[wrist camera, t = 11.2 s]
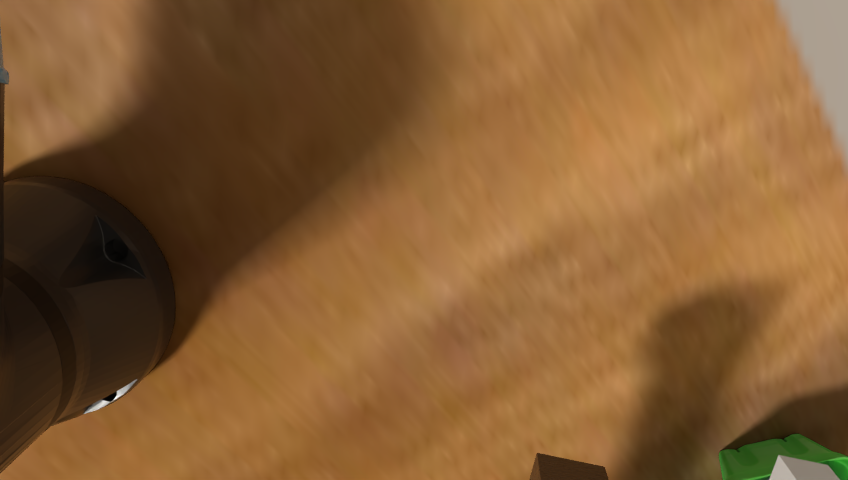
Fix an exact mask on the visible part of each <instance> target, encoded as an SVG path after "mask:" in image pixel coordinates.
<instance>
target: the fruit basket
mask: <svg viewBox="0 0 848 480" xmlns="http://www.w3.org/2000/svg"><path fill="white" fill-rule="evenodd" d="M778 455H782V456H786V457H791V458H796V459H801V460H806V461H811V462H815V463H820V464H825V465H828V466H829V467H830V468H831V469H832V471H833V472H834V473H835V474H836V476H837V477H838V478H839V479H840V480H848V456H845V455H843V454H841V453H836V452H833V451H831V450H829V449H827V448H825V447H823V446H821V445H820V444H818V443H816V442H814V441H812V440H810V439H808V438H806V437H804V436H802V435H800V434H792V435H790V436H788V437H786V438H784V440H782V439H770V440H766V441H761V442H757V443H753V444H748V445H744V446H742V447H740V448H738V449H737V450H734V449H732V450H731V449H726V450H722V451H720V453H719V460H720V466H721V472H722V478H723V480H769V479H770V476H771V474H772V471H773V468H774V466H775V463H776V460H777V458H778Z"/></svg>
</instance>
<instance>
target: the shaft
mask: <svg viewBox="0 0 848 480" xmlns="http://www.w3.org/2000/svg"><path fill="white" fill-rule="evenodd" d="M530 480H608V476H607V473H606V470H605V467H603V466H598V465H593V464H588V463H583V462H579V461H574V460H569V459H564V458H559V457H554V456H550V455H545V454H540V453H537V454H536V458H535V462H534V465H533V469H532V473H531V477H530Z"/></svg>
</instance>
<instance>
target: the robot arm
mask: <svg viewBox="0 0 848 480" xmlns="http://www.w3.org/2000/svg"><path fill="white" fill-rule="evenodd" d="M5 84H9V75H8V72H7V71H6V70H5V69H4V67H3V55H2V43H1V29H0V473H1V472H2V471H3V470H4V469H5V468H6V467H7V466H9V465H10V464H11V463H12V462H13V461H14V460H15V459H16V458H17V457H18V456H19V455H20V454H21V453H22V452H23V451H24V450H25V449H26V448H27V447H29V446H30V445H31V444H32V443H33V442H34V441H35V440H36V439H37V438H38V437H39V436H40V435H41V434H42V433H43V432H45V431H46V430H47V429H48V428H49V427H50V426H53V425H56V424H59V423H62V422H64V421H67V420H70V419H73V418H76V417H78V416H81V415H82V414H85V413H90V412H92V411H95V410H98V409H101V408H103V407H105V406H108V405H110V404H111V403H113V402H115V401H117V400H118V399H120V398H121V397H123V396H124V395H126V394H127V393H128V392H130V391H131V390H132V389H133V388H134V387H135V386H136V385H137V384H138V383H139V382H140V381H141V380H142V379H143V378H144V377H145V376H146V375H147V374H148V373H149V372H150V371H151V370H152V369H153V368H154V366H155V365H156V364H157V363H158V361H159V360H160V358H161V357H162V355H163V353H164V351H165V349H166V347H167V345H168V343H169V340H170V337H171V334H172V330H173V325H174V319H175V295H174V288H173V283H172V279H171V275H170V272H169V269H168V266H167V264H166V261H165V259H164V257H163V255H162V253H161V251H160V249H159V247H158V245H157V244H156V242H155V241H154V239H153V238H152V236H151V235H150V233H149V232H148V231H147V229H146V228H145V227H144V226H143V225H142V224H141V222H140V221H139V220H138V219H137V218H136V217H135V216H134V215H133V214H132V213H131V212H129V211H128V210H127V209H126V208H125V207H123V206H122V205H121V204H119V203H118V202H117V201H115V200H114V199H112V198H111V197H109V196H108V195H106V194H104V193H102V192H100V191H98V190H96V189H94V188H92V187H90V186H87V185H85V184H82V183H79V182H76V181H72V180H68V179H63V178H57V177H48V176H33V177H24V178H18V179H14V180H10V181H7V182H4V180H3V168H4V86H5ZM769 480H840V479H839V478H838V477H837V476H836V474H835V473H834V472H833V471H832V469H831V468H830V467H829V466H828V465H825V464H820V463H815V462H811V461H806V460H801V459H796V458H791V457H786V456H782V455H778V458H777V460H776V463H775V466H774V468H773V471H772V474H771V476H770V479H769Z"/></svg>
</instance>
